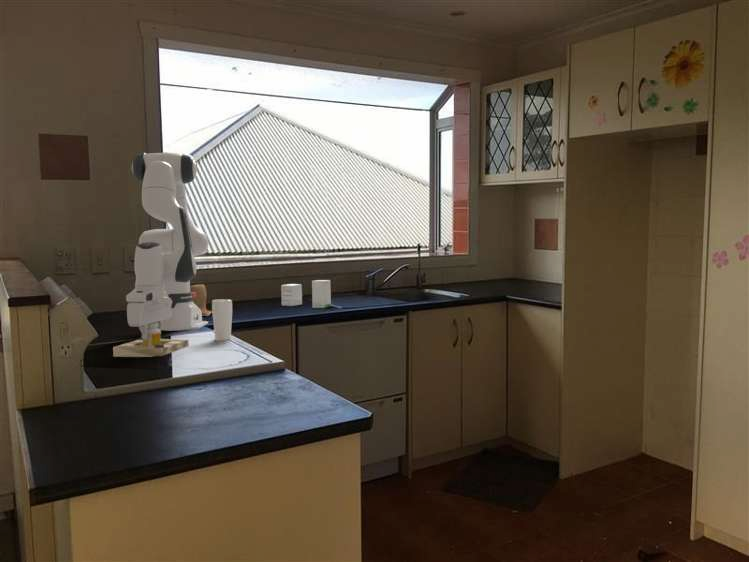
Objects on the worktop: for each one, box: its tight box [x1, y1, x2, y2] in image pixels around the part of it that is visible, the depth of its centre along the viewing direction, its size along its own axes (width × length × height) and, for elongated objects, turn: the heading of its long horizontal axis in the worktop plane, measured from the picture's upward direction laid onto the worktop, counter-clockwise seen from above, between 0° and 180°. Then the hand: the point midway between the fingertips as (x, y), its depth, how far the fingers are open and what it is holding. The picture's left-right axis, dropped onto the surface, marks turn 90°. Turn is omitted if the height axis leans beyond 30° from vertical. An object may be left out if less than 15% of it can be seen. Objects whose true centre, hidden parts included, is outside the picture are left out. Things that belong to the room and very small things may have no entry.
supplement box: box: [280, 283, 303, 307], centre depth 314 cm, size 7×7×13 cm
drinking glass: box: [211, 298, 233, 342], centre depth 221 cm, size 7×7×15 cm
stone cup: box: [190, 284, 212, 317], centre depth 289 cm, size 15×12×15 cm
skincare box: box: [311, 279, 332, 309], centre depth 301 cm, size 8×7×16 cm
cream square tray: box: [112, 336, 189, 358], centre depth 205 cm, size 17×17×4 cm
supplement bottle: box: [143, 322, 162, 346], centre depth 205 cm, size 5×5×10 cm
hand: (151, 336), depth 205 cm, fingers closed on supplement bottle, 5 cm apart
